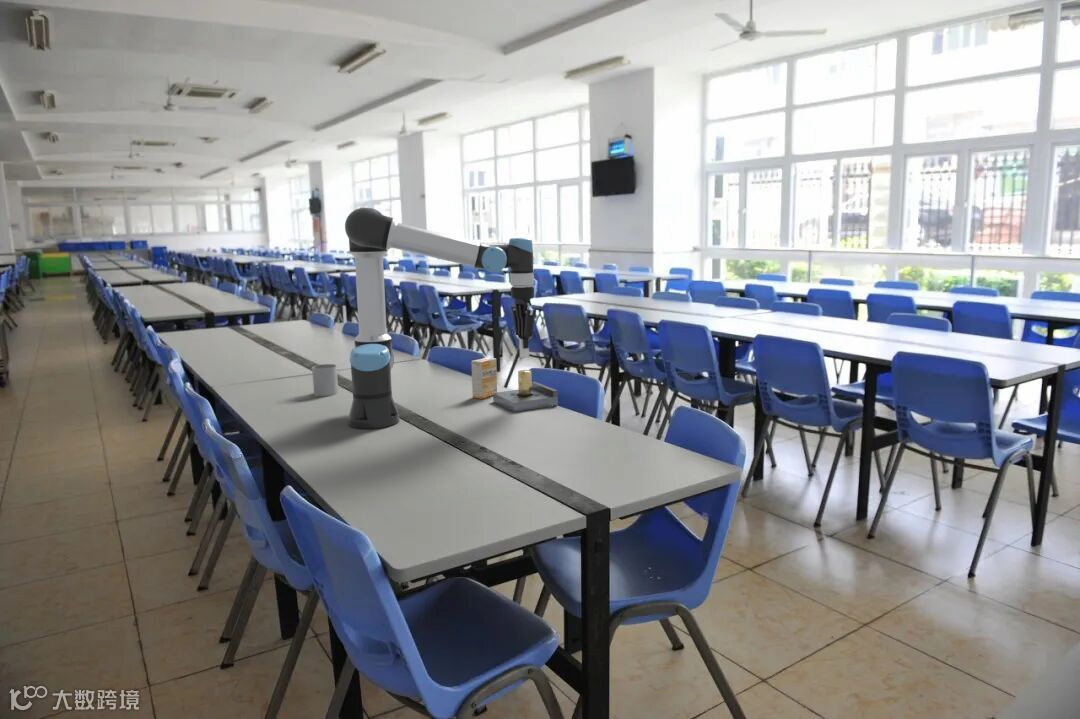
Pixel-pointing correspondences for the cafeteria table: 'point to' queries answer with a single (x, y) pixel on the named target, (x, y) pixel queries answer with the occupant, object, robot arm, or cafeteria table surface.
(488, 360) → the supplement box
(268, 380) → the cafeteria table surface
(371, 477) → the cafeteria table surface
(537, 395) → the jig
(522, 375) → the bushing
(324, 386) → the cup
